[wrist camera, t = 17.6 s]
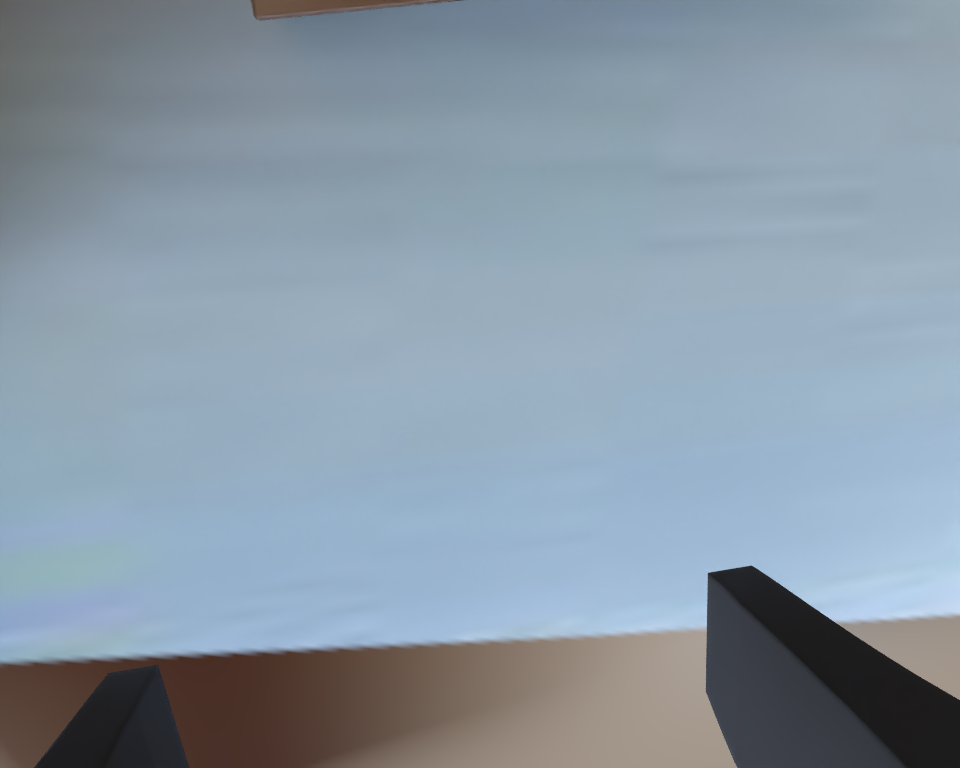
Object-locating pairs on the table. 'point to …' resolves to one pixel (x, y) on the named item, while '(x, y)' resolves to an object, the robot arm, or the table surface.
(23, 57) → the table surface
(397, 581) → the table surface
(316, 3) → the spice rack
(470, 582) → the table surface
